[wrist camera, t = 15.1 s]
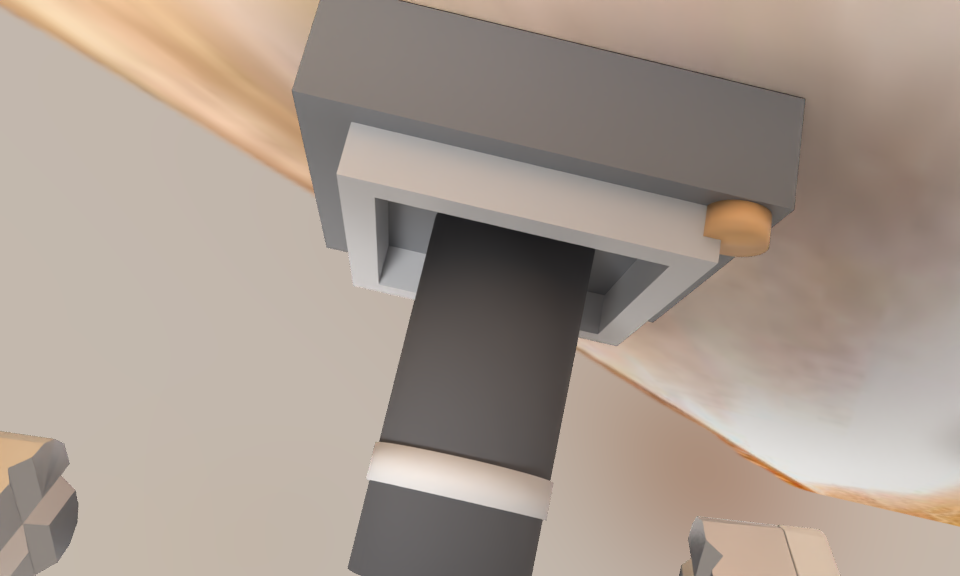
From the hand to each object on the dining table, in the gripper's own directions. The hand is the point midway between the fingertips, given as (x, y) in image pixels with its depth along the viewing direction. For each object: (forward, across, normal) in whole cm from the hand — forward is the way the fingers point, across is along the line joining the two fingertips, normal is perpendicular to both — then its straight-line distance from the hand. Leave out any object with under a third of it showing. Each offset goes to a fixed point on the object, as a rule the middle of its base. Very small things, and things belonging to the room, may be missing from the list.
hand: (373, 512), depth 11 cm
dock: (+17, +1, 0) cm, 17 cm away
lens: (+14, +1, -3) cm, 15 cm away
